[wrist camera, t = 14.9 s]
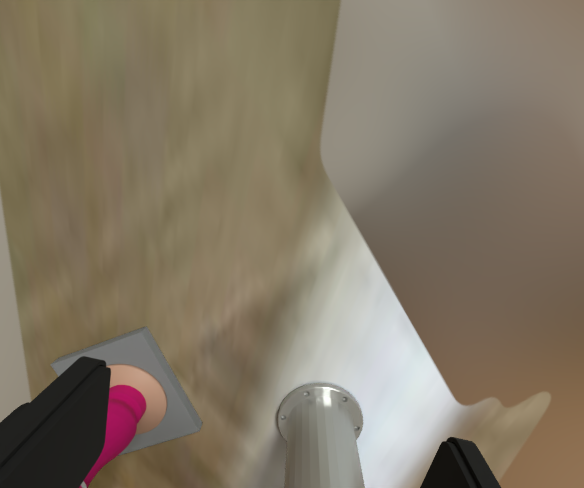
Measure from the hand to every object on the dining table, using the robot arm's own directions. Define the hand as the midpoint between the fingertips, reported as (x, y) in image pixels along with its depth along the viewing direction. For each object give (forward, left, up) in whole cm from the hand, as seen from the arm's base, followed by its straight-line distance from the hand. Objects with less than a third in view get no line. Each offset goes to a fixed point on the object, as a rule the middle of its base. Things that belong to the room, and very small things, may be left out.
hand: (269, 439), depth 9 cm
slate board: (-16, +33, -32) cm, 49 cm away
